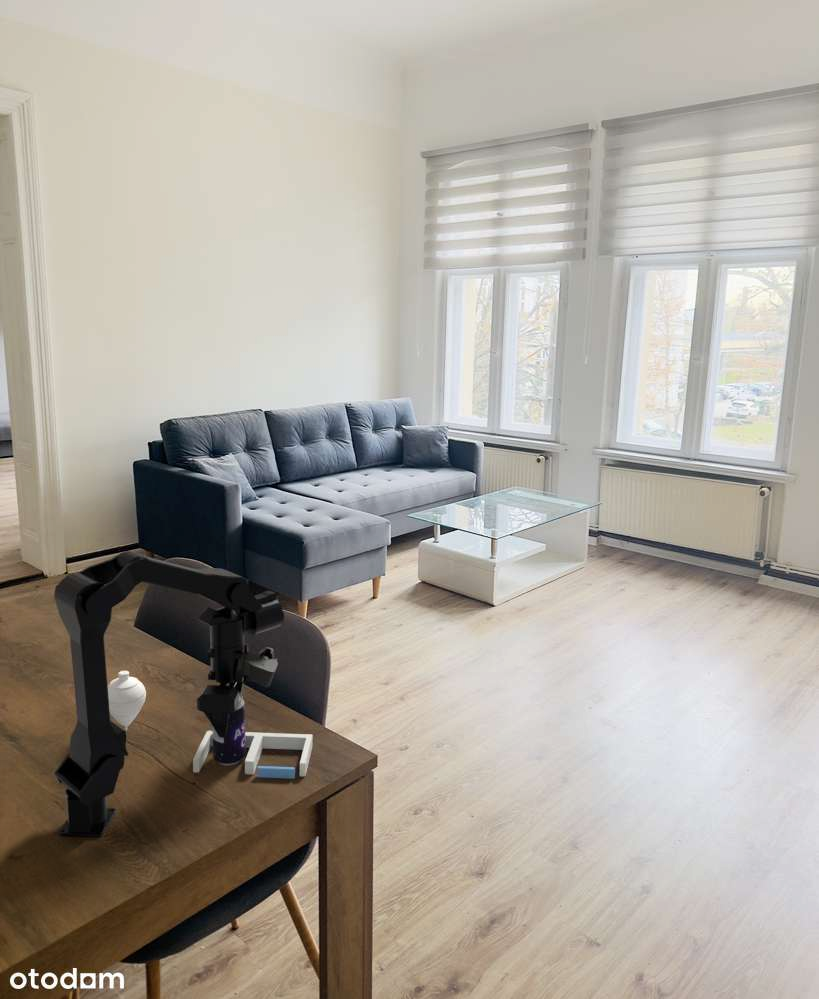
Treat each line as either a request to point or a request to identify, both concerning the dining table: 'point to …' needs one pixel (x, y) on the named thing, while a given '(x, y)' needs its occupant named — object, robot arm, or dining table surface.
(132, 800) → the dining table surface
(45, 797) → the dining table surface
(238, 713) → the beverage can
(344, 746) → the dining table surface
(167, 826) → the dining table surface
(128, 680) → the spinning top
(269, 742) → the white open frame
